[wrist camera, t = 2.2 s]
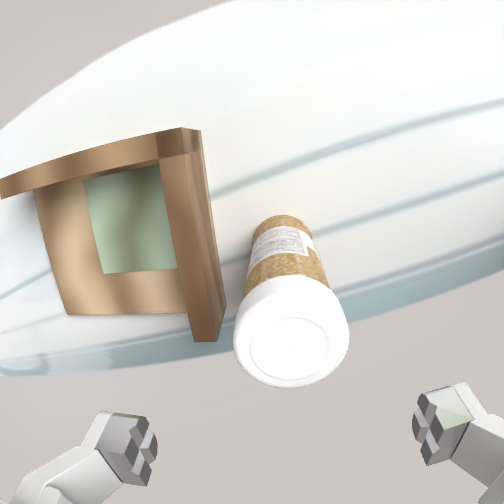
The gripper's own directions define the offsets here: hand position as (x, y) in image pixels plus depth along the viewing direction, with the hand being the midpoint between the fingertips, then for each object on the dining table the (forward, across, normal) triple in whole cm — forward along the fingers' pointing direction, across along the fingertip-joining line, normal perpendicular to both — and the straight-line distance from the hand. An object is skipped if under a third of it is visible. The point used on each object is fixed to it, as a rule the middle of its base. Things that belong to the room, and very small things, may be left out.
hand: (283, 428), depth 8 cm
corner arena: (+17, +12, -2) cm, 21 cm away
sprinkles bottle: (+17, -1, 0) cm, 17 cm away
